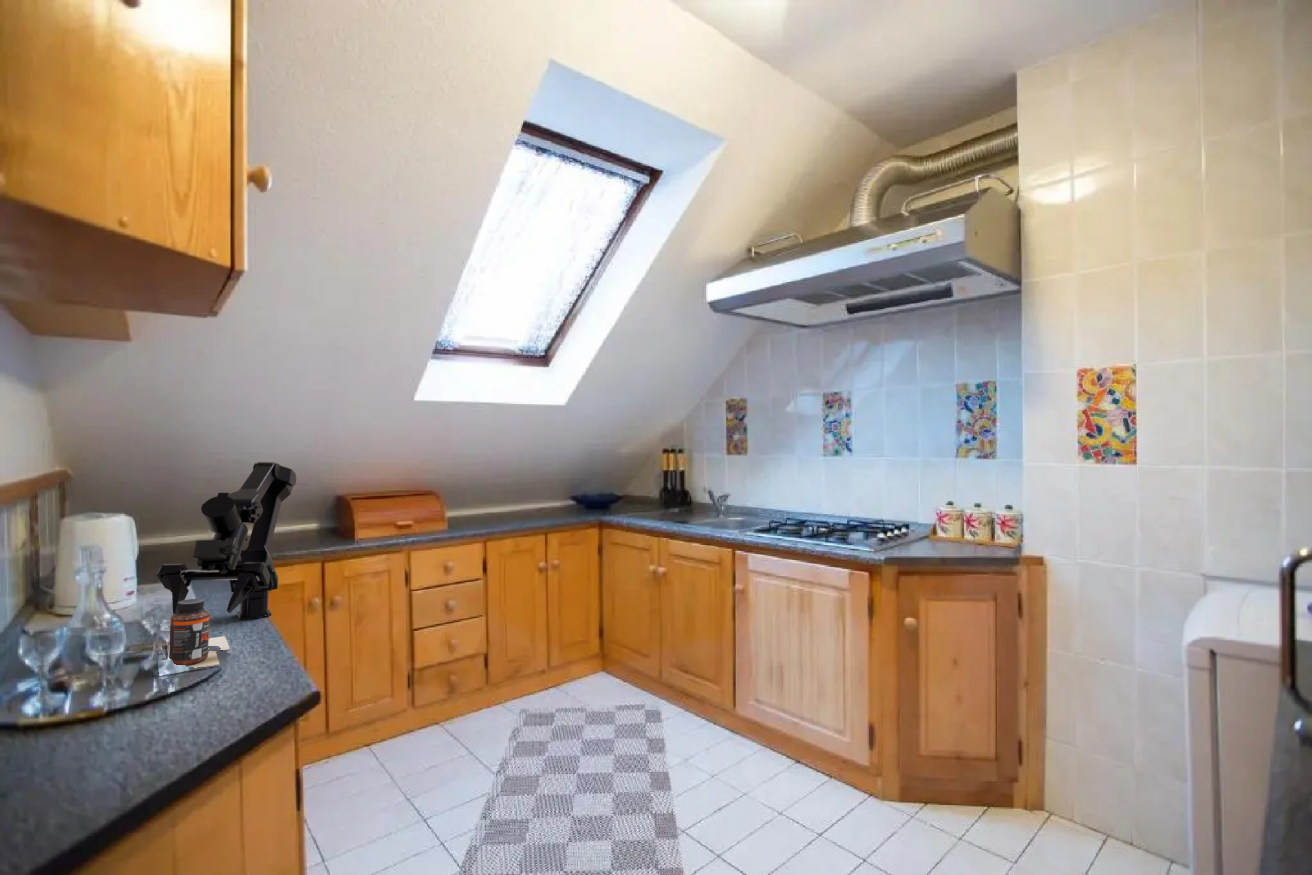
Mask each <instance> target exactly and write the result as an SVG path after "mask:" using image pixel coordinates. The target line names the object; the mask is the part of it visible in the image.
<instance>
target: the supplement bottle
mask: <svg viewBox="0 0 1312 875" xmlns="http://www.w3.org/2000/svg"><path fill="white" fill-rule="evenodd" d="M204 607H205V600H204V599H202V598H190V599H188V598H187V599H185V600H182V601H180V602H178V606H177V609H178V610H179V611H178V612H176V613H175V614H173V613H172V615H171V617H170V625H169V626H170V627H169V644H170V645H169V646H170V647H169V658H170V659H172V661H173V663H174V664H176V665H189V664H195V663H199V662H201V661H203V660H205V659H206V658H207V657H208V649H209V648H208V642H209V637H210V612H209V611H208V610H206V609H205V608H204Z"/></svg>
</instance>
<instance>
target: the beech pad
mask: <svg viewBox="0 0 1312 875" xmlns="http://www.w3.org/2000/svg"><path fill="white" fill-rule="evenodd" d="M219 660H220V659H219V657H218V654H217V651H209V652H208V657H207V658H206V659H205V660H203V661H201V662H199V663H195V664H189V665H186V667H194V668H197V667H207V666H214V665H220V661H219ZM220 666H221V665H220Z"/></svg>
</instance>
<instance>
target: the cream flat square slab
mask: <svg viewBox="0 0 1312 875" xmlns="http://www.w3.org/2000/svg"><path fill="white" fill-rule="evenodd" d="M208 646H219V647H220V648H221V649H220V650H223V651H228V650H230V649H231V647H230V646H229V643H228V640H227V638H226V635H223V636H218V637H210V638H209V642H208Z"/></svg>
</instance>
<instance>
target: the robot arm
mask: <svg viewBox="0 0 1312 875" xmlns="http://www.w3.org/2000/svg"><path fill="white" fill-rule="evenodd" d="M296 474H297V473H296V472H295V471H294V470H293V469H291V468H289V467H286V466H283V465H280V464H279V463H277V462H271V461H270V462H268V461H267V462H265V461H264V462H263V461H261V462H260V461H258V462H255V463H254V464H253V466H252V470H251V473H250V474H249V475H248V476H247V478H246V480H245V481H244V482H243V484H242V486H241V487H240V488H239V489H238V490H237V491H234V492H218V493H217V496H214V497H213V496H212V497H211V498H209V499H207V500H206V501H205V502H204V503H202V505H201V506H200V507H201V508H200V510H201V513H202V515H203V517H204V519H205V522H206V523H207V526H208V528H209V529H210V531H211V532H213V533H214V535H213V537H212V540H210V539H209V540H207V539H206V540H205V539H204V540H195V542H194V548H193V551H192V558H196V559H197V560H196V565H197V566H198V567H200V569H189V568H188V567H187V565H186V564H185V563H165V564H161V566H160V567H159V568H158V570H157V573H156V574H155V575H156V577H157V578H158V580H159V582H160V583H161V584H162V586H163V588H164V589H166V590H169V591H170V593H171V596H172V598H171V599H172V600H171V601H172V604H171V605H172V615H173V614H175V613H176V612H178V611H179V610H178V609H177V606H178V602H180V601H182V600H186V598H187V596H188V593H189V591H190V590H189V589H188V588H189V587H190V586H191V584H192V581H210V580H211V581H229V584H230V593H232V595H231V597H230V599H229V602H228V604H227V609H226V612H227V613H228V614H231V613H232V612H233V611H234V610H235V609H236V608H237V607H238V606H239V611H236V616H237V617H238V619H239V621H241V620H250V619H258V618H264V617H271V616H272V615H273V613H272V612H271V611H270V609H269V596H270V595H269V593H270V592H271V591H274V590H277V589H278V588H279V577H278V574H277V572H276V569H275V568H276V567H274V561H273V559H272V557H271V555H270V550H271V546H272V541H273V538H274V534H275V529H276V527H277V520H278V517H279V514H280V509H281V506H282V505H281V504H282V502H283V501H285V500H286V499H288V497H289V496H290V495H292V494H291V493H292V491H293V488H294V487H295V486H296V482H297V475H296ZM246 524H253V525H252V529H251V532H250V536H249V535H248V533H249V528H248V526H247V525H246ZM245 541H248V544H247V547H246V548H245V549H243V547H244V545H245ZM265 615H266V616H265Z"/></svg>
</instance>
